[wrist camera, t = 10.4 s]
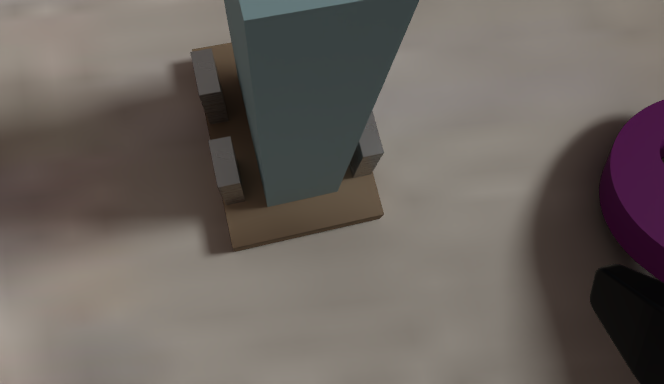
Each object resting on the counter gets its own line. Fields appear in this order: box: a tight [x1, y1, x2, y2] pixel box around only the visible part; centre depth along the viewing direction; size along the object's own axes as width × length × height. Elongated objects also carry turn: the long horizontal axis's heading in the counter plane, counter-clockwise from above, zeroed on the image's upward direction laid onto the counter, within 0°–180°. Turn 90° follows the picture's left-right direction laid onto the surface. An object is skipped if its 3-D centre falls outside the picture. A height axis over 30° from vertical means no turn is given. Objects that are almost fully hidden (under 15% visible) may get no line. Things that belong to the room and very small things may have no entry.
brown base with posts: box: [190, 43, 384, 251], centre depth 22 cm, size 9×6×4 cm
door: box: [224, 0, 419, 207], centre depth 16 cm, size 6×3×14 cm, turn 14°
